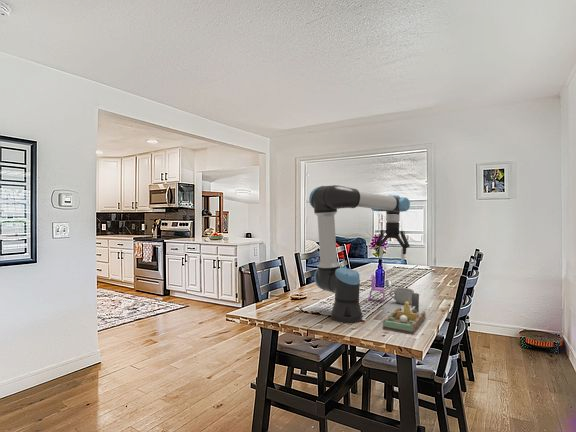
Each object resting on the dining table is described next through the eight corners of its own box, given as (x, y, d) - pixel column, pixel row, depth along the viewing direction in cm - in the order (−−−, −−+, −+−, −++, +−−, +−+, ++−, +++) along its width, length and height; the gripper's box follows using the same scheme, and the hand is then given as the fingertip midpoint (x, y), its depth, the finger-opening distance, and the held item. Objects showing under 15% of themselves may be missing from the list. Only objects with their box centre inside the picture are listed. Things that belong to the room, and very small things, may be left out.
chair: (383, 303, 211) (383, 276, 211) (367, 301, 214) (368, 275, 214) (384, 300, 219) (385, 274, 219) (369, 298, 222) (370, 273, 222)
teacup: (411, 301, 216) (411, 287, 216) (415, 306, 206) (416, 291, 206) (387, 300, 218) (387, 286, 218) (390, 305, 207) (390, 290, 207)
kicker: (416, 321, 172) (416, 302, 172) (396, 318, 176) (397, 299, 176) (424, 311, 190) (425, 294, 190) (406, 309, 195) (407, 292, 194)
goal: (413, 331, 157) (413, 325, 157) (382, 326, 163) (383, 320, 163) (416, 326, 163) (417, 321, 163) (387, 321, 170) (387, 316, 170)
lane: (413, 334, 157) (413, 324, 157) (382, 328, 163) (383, 319, 163) (425, 318, 181) (425, 309, 181) (398, 314, 188) (398, 305, 188)
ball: (404, 324, 167) (404, 316, 167) (397, 322, 169) (398, 314, 169) (408, 323, 169) (409, 315, 169) (402, 321, 172) (402, 313, 172)
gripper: (416, 222, 207) (415, 260, 208) (376, 221, 224) (375, 256, 225) (410, 222, 202) (409, 261, 202) (370, 221, 219) (369, 256, 219)
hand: (391, 258), depth 213 cm, fingers open, 13 cm apart
